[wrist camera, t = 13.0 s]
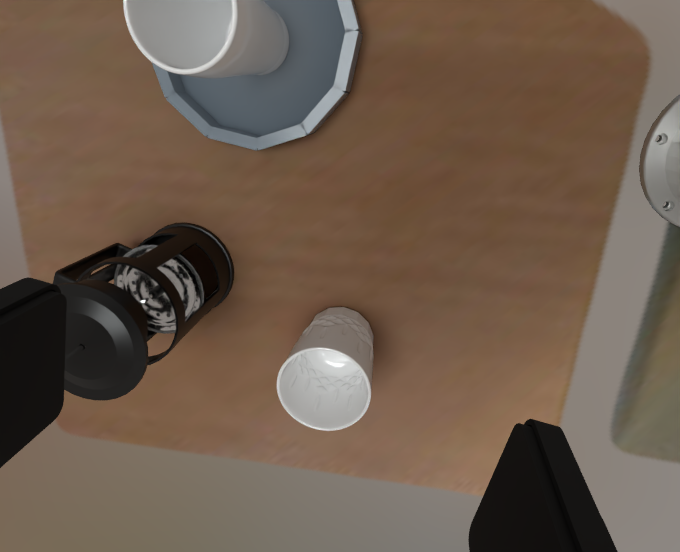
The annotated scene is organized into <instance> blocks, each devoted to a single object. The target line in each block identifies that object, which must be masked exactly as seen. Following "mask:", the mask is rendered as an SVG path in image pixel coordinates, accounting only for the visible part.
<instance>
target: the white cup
mask: <svg viewBox="0 0 680 552" xmlns="http://www.w3.org/2000/svg"><path fill="white" fill-rule="evenodd" d="M373 339H374V336H373V333H372V330H371V327H370V325H369V322H368V321H366V320H365V319H364V318H363V317H362V316H361V315H360V314H359V313H358V312H356V311H353V310H351V309H348V308H345V307H333V308H328V309H326V310H324V311H322V312H320V313H318V314H316V316H315V317H314V319H313V320H312V322H311V323H310V325H309V326H308V327H307V328H306V329H305V330H304V332H303V334H302V335H301V336H300V338H299V340H298V341H297V342H296V344H295V345H294V347H293V349H292V351H291V352H290V354H289V356H288V357H287V359H286V361H285V362H284V364H283V365H282V367H281V369H280V371H279V374H278V378H277V392H278V396H279V399H280V401H281V403H282V405H283V407H284V408H285V410H286V411H287V412H288V413H289V414H290V415H291V416H292V417H293V418H294V419H295V420H297V421H298V422H300V423H302V424H303V425H306V426H308V427H310V428H314V429H318V430H325V431H332V430H339V429H343V428H346V427H349V426H351V425H352V424H354V423H356V422H357V421H358V420H359V419H360V418H361V417H362V416H363V415H364V414H365V412H366V410H367V409H368V406H369V403H370V399H371V388H372V375H373V355H374V353H373Z"/></svg>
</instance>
